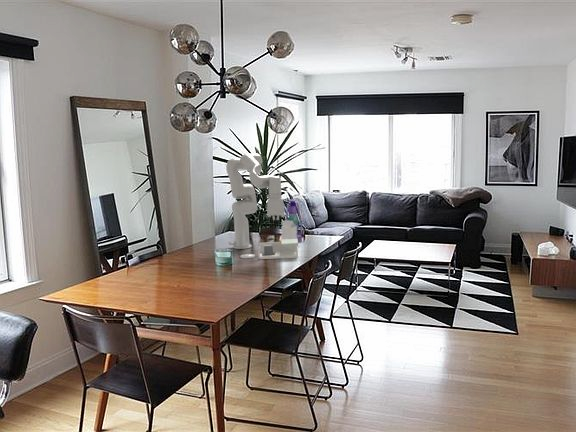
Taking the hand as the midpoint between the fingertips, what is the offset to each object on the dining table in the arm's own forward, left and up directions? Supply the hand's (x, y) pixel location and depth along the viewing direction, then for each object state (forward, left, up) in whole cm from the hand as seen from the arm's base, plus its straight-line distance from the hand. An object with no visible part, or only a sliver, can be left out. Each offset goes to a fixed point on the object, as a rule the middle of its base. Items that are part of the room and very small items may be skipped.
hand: (276, 226), depth 349 cm
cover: (+7, 0, -11) cm, 13 cm away
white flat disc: (-18, 0, -19) cm, 26 cm away
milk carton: (+8, +19, -19) cm, 28 cm away
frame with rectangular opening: (+1, 0, -19) cm, 19 cm away
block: (-5, 0, -19) cm, 19 cm away
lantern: (+11, +47, -19) cm, 52 cm away
